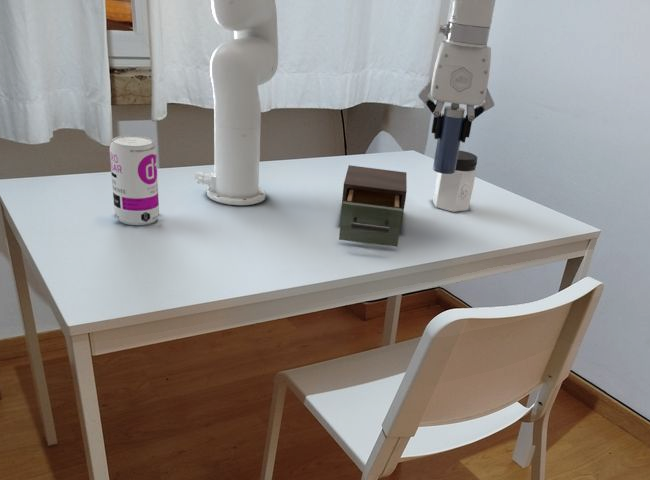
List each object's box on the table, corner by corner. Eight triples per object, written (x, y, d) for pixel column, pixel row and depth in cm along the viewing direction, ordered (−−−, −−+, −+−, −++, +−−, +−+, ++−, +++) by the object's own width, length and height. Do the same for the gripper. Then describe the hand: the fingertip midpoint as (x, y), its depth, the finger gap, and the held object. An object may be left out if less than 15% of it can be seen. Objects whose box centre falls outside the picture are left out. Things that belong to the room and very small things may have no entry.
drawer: (397, 255, 126) (402, 218, 122) (336, 248, 126) (340, 210, 122) (398, 224, 140) (403, 190, 137) (343, 217, 140) (347, 183, 137)
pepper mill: (433, 172, 131) (444, 101, 124) (432, 166, 134) (443, 97, 128) (455, 175, 131) (468, 104, 124) (454, 168, 134) (466, 100, 128)
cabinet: (400, 234, 138) (406, 191, 133) (339, 227, 138) (343, 183, 133) (400, 212, 150) (406, 172, 145) (344, 205, 150) (348, 165, 145)
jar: (447, 213, 152) (456, 161, 146) (424, 201, 158) (433, 150, 152) (476, 209, 157) (486, 158, 151) (453, 198, 163) (462, 148, 156)
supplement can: (168, 218, 132) (165, 141, 124) (139, 230, 126) (134, 149, 118) (135, 208, 135) (130, 132, 127) (105, 219, 128) (98, 140, 120)
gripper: (420, 32, 117) (405, 138, 126) (517, 43, 117) (495, 149, 126) (420, 28, 123) (405, 129, 133) (511, 39, 123) (490, 139, 133)
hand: (449, 138), depth 129 cm, fingers closed on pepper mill, 4 cm apart
